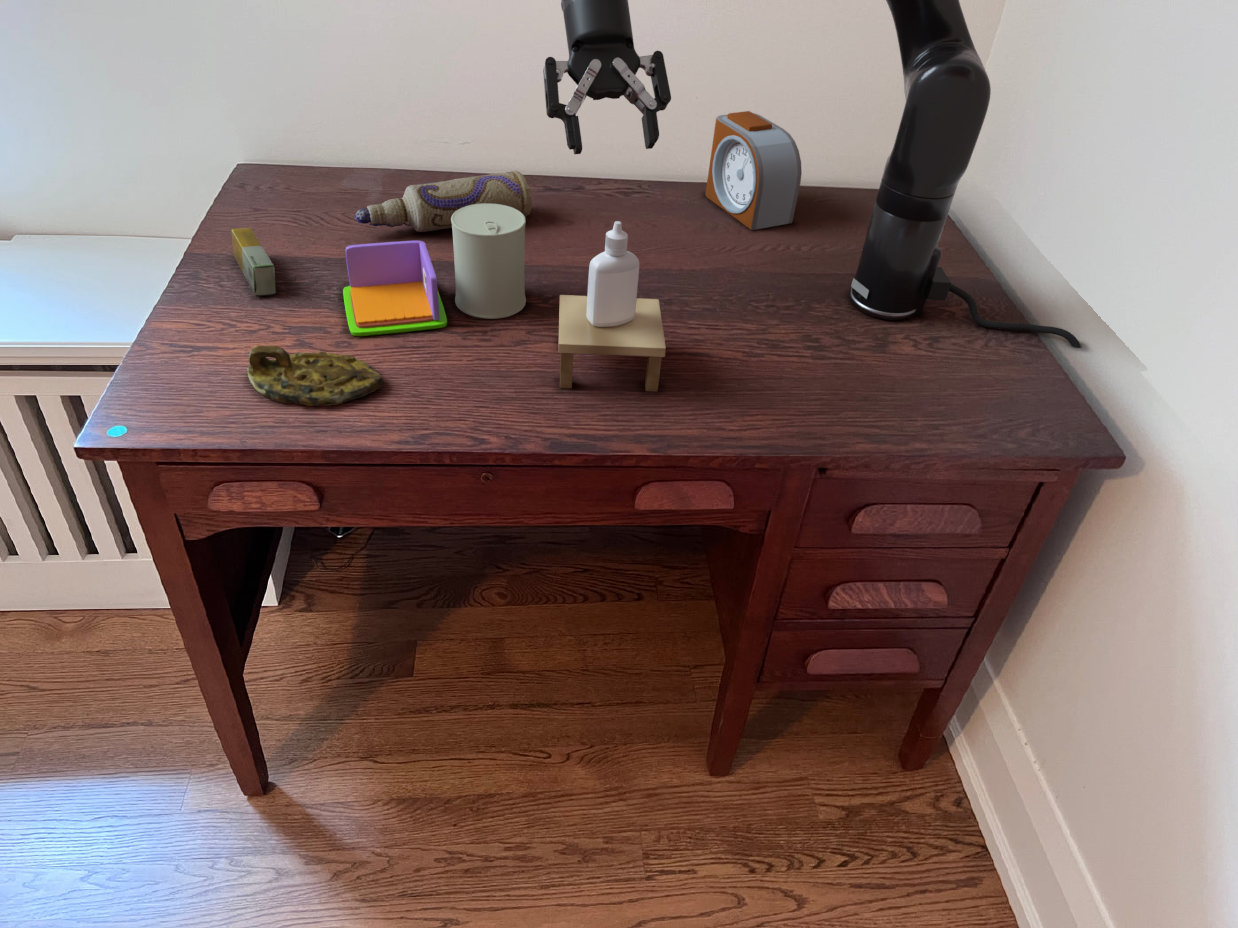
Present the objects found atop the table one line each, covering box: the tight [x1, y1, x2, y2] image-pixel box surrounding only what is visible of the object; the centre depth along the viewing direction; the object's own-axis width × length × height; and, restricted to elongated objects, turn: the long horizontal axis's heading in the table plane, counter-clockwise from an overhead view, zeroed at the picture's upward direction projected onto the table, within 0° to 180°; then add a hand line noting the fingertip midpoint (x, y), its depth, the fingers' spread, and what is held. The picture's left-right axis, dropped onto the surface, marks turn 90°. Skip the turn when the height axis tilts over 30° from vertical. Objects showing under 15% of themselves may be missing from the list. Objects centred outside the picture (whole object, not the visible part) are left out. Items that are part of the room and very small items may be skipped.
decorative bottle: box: [354, 170, 533, 233], centre depth 130 cm, size 26×8×7 cm, turn 116°
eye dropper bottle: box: [586, 220, 641, 327], centre depth 99 cm, size 4×6×12 cm
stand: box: [557, 294, 667, 393], centre depth 105 cm, size 12×11×6 cm
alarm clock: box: [705, 110, 803, 231], centre depth 141 cm, size 15×8×14 cm, turn 28°
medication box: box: [230, 227, 277, 297], centre depth 115 cm, size 12×3×4 cm, turn 31°
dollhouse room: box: [342, 240, 448, 337], centre depth 111 cm, size 12×12×7 cm
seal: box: [246, 345, 384, 407], centre depth 98 cm, size 9×5×15 cm
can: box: [451, 203, 527, 320], centre depth 112 cm, size 9×9×12 cm
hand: (614, 149), depth 102 cm, fingers open, 8 cm apart
